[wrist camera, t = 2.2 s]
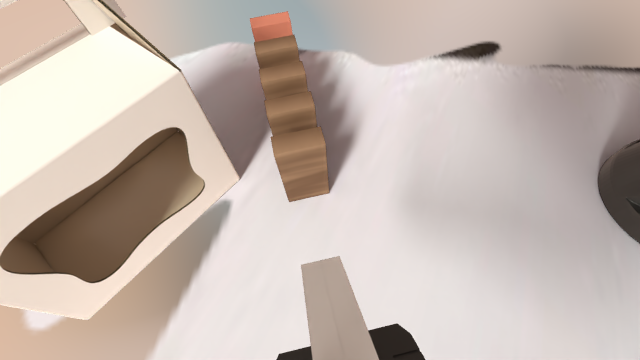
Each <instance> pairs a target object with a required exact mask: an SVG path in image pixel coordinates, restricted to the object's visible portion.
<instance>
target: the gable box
mask: <svg viewBox="0 0 640 360" xmlns="http://www.w3.org/2000/svg"><path fill="white" fill-rule="evenodd" d="M15 1H17V0H0V9H1V8H3V7H5V6H7V5H9V4H11V3H13V2H15ZM64 1H65V3H66V4H67V5H68V6H69V8H70V9H71V10H72V12H73V13H74V14H75V15H76V17H77V18H78V19H79V21H80V22H81V24H80V25H78V26H76V27H74V28H72V29H71V30H69V31H67V32H65V33H63V34H62V35H60V36H58V37H56V38H54V39H53V40H51V41H49V42H47V43H45V44H44V45H42V46H40V47H38V48H36V49H35V50H33V51H31V52H29V53H27V54H26V55H24V56H22V57H20V58H18V59H17V60H15V61H13V62H12V63H10V64H8V65H6V66H4V67H2V68H0V305H4V306H10V307H15V308H21V309H27V310H32V311H38V312H44V313H49V314H55V315H61V316H67V317H72V318H78V319H84V320H88V319H90V318H91V317H92V316H93V315H94V314H95V313H96V312H97V311H98V310H99V309H101V308H102V307H103V306H104V305H105V304H106V303H107V302H108V301H109V300H110V299H111V298H112V297H113V296H115V295H116V294H117V293H118V292H119V291H120V290H121V289H122V288H123V287H124V286H125V285H126V284H128V283H129V282H130V281H131V280H132V279H133V278H134V277H135V276H136V275H137V274H138V273H139V272H140V271H142V270H143V269H144V268H145V267H146V266H147V265H148V264H149V263H150V262H151V261H152V260H153V259H154V258H155V257H156V256H158V255H159V254H160V253H161V252H162V251H163V250H164V249H165V248H166V247H167V246H168V245H169V244H171V243H172V242H173V241H174V240H175V239H176V238H177V237H178V236H179V235H180V234H181V233H182V232H183V231H185V230H186V229H187V228H188V227H189V226H190V225H191V224H192V223H193V222H194V221H195V220H196V219H198V218H199V217H200V216H201V215H202V214H203V213H204V212H205V211H206V210H207V209H208V208H209V207H210V206H212V205H213V204H214V203H215V202H216V201H217V200H218V199H219V198H220V197H221V196H222V195H223V194H224V193H225V192H227V191H228V190H229V189H230V188H231V187H232V186H233V185H234V184H235V183H236V182H237V181H238V180H239V179H240V177H239V175H238V174H237V172H236V170H235V168H234V166H233V164H232V163H231V161H230V159H229V157H228V155H227V153H226V152H225V150H224V148H223V146H222V144H221V142H220V141H219V139H218V137H217V135H216V133H215V131H214V130H213V128H212V126H211V124H210V122H209V120H208V119H207V117H206V115H205V113H204V111H203V109H202V108H201V106H200V104H199V102H198V100H197V98H196V97H195V95H194V93H193V91H192V89H191V88H190V86H189V84H188V82H187V80H186V78H185V77H184V75H183V73H182V71H181V69H179V68H178V67H177V66H176V65H175V64H174V63H173V62H172V61H170V60H169V59H168V58H167V57H165V55H164V54H162V53H161V52H160V51H159V50H158V49H157V48H155V46H153V45H152V44H151V43H150V42H149V41H148V40H147V39H145V38H144V37H143V36H142V35H141V34H140V33H139V32H137V31H136V30H135V29H134V28H133V27H132V26H131V25H129V24H128V23H127V22H126V21H125V20H124V19H123V18H125V17H126V15H125V14H124V13H123V11H122V10H121V8H120V7H119V6H118V4H117V3H116V2H115V0H64ZM178 131H179V132H178ZM34 243H35V244H34Z"/></svg>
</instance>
